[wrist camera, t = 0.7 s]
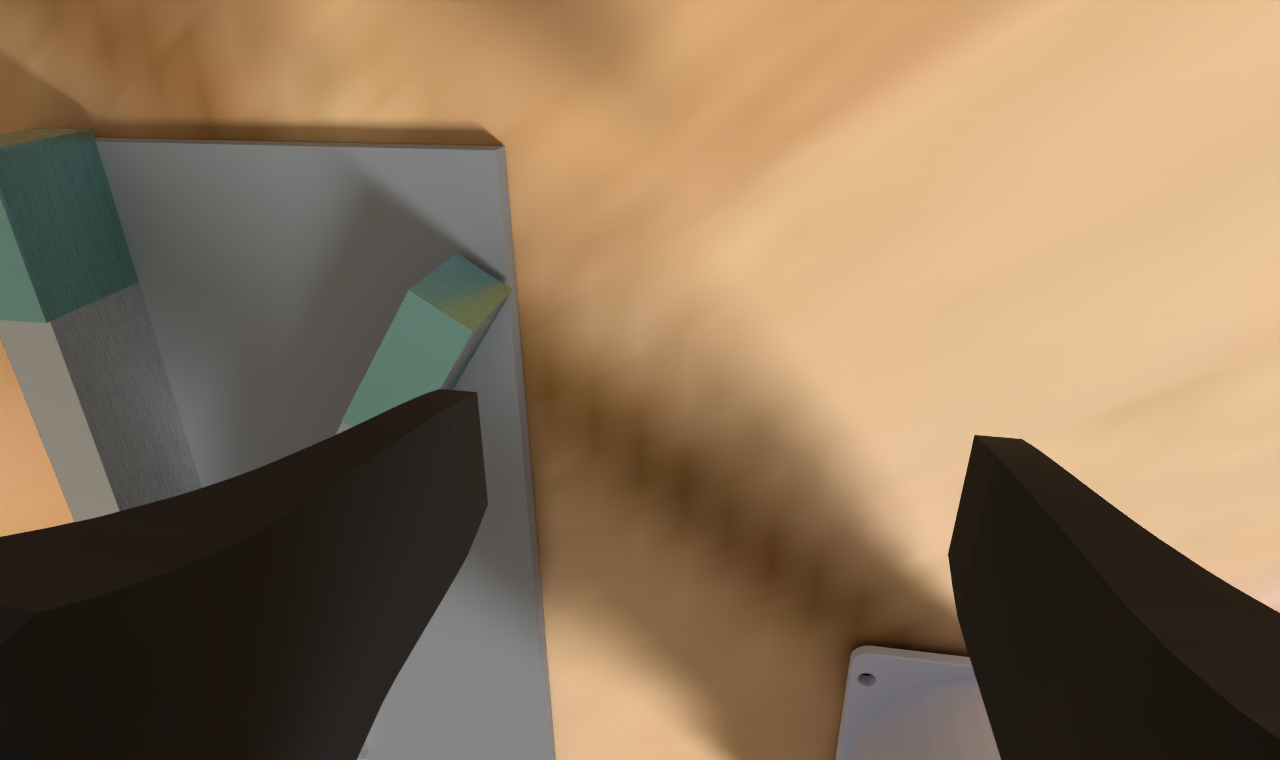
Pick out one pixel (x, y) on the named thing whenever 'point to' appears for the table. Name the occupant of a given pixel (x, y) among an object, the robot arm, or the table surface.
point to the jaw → (429, 338)
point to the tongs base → (84, 330)
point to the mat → (350, 373)
